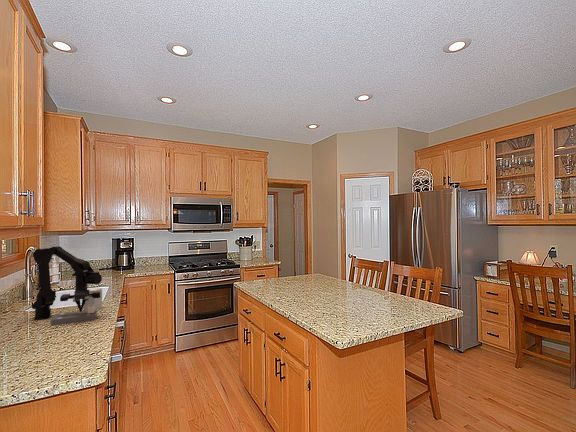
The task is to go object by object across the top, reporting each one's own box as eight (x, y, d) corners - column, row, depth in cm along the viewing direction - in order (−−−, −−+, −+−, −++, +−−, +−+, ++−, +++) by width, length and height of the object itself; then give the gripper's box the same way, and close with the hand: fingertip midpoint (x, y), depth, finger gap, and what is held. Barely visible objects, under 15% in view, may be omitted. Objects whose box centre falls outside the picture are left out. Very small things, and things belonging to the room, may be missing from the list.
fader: (87, 313, 174) (87, 305, 174) (88, 311, 178) (88, 303, 178) (93, 312, 175) (94, 304, 175) (94, 310, 180) (94, 302, 180)
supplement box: (102, 308, 197) (102, 288, 198) (94, 311, 190) (94, 290, 190) (91, 307, 198) (92, 287, 198) (83, 310, 191) (83, 290, 191)
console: (50, 325, 163) (51, 319, 163) (55, 319, 174) (55, 314, 174) (95, 320, 173) (95, 314, 173) (96, 314, 183) (96, 309, 183)
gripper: (58, 287, 163) (57, 317, 163) (99, 284, 172) (99, 312, 172) (62, 284, 173) (61, 312, 173) (100, 281, 182) (100, 308, 182)
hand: (80, 311), depth 174 cm, fingers closed
